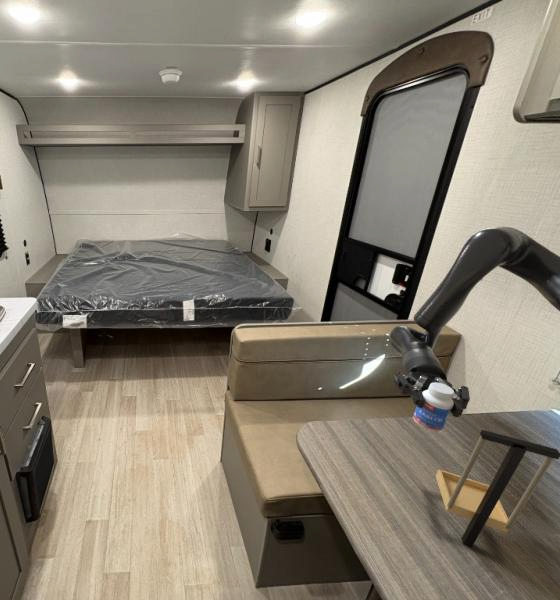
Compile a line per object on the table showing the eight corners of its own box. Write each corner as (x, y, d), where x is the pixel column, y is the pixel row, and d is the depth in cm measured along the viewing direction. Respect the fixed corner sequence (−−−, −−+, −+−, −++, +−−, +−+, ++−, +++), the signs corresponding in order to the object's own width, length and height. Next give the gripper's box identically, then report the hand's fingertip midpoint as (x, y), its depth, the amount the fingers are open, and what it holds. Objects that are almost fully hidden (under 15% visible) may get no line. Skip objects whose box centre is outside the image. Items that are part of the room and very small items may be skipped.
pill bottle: (410, 423, 71) (423, 388, 68) (414, 411, 75) (426, 376, 71) (442, 436, 68) (457, 399, 64) (444, 422, 71) (458, 387, 68)
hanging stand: (478, 515, 64) (532, 417, 54) (497, 562, 56) (563, 457, 47) (424, 496, 67) (466, 401, 58) (435, 538, 60) (485, 436, 50)
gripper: (392, 349, 83) (402, 384, 69) (464, 363, 76) (491, 405, 62) (385, 373, 85) (393, 412, 72) (454, 388, 79) (477, 434, 65)
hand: (439, 408), depth 67 cm, fingers closed on pill bottle, 5 cm apart
